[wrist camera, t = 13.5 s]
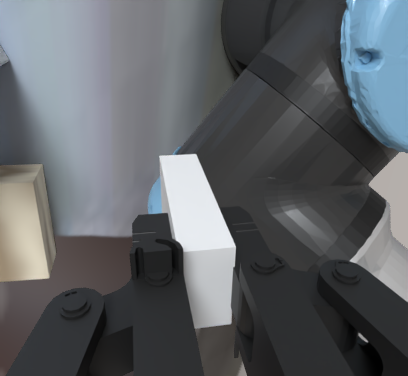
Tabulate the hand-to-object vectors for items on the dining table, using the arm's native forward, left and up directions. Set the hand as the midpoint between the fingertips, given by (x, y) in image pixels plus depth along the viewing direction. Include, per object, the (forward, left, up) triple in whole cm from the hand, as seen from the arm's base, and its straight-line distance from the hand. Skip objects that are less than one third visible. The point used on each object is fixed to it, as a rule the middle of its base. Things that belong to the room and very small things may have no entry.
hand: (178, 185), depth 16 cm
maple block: (+17, +15, -27) cm, 35 cm away
